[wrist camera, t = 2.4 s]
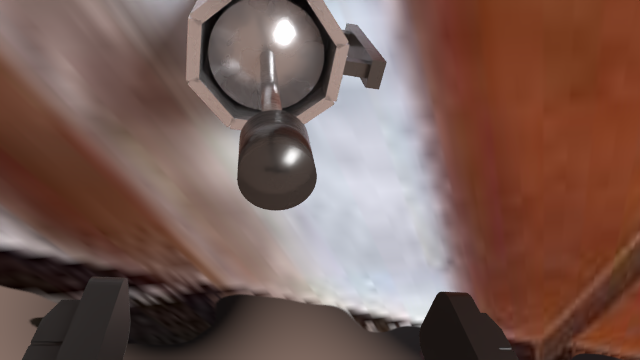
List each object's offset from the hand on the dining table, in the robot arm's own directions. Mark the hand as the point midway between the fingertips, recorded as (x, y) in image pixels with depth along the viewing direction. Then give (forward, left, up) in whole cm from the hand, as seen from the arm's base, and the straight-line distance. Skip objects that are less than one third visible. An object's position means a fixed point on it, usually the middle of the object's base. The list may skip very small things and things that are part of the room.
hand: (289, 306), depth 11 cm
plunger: (0, 0, -21) cm, 21 cm away
